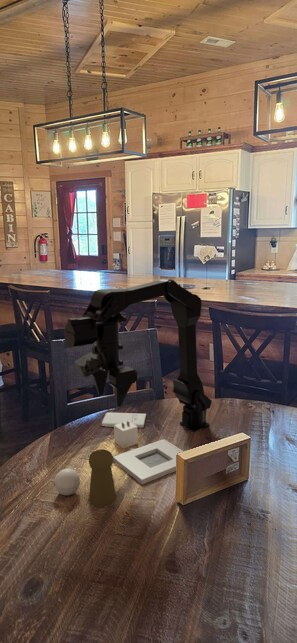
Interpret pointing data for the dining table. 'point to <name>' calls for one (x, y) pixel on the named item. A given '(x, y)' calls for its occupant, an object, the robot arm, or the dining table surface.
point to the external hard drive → (123, 419)
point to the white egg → (67, 481)
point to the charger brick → (125, 434)
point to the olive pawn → (101, 479)
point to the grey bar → (126, 451)
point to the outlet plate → (149, 461)
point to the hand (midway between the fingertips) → (109, 400)
